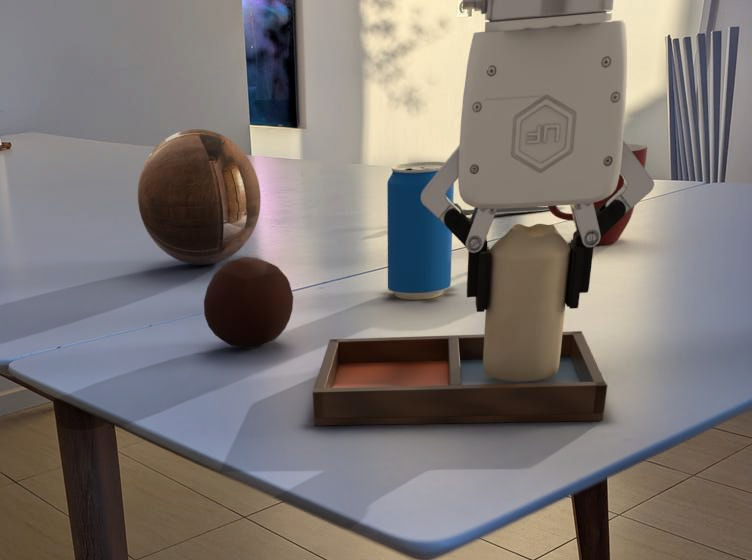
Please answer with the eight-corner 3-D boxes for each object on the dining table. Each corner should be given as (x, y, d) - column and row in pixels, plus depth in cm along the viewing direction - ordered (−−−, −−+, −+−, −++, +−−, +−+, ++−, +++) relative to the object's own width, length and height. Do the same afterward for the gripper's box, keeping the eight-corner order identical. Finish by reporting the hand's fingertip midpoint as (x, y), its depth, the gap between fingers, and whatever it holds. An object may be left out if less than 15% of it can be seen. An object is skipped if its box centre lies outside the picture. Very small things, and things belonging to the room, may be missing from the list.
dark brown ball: (257, 327, 89) (250, 243, 85) (317, 345, 83) (313, 255, 79) (188, 346, 85) (177, 259, 81) (244, 366, 79) (236, 273, 75)
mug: (542, 250, 109) (550, 156, 103) (544, 236, 115) (551, 147, 109) (636, 248, 106) (650, 151, 100) (633, 234, 112) (645, 142, 107)
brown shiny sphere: (137, 261, 121) (119, 132, 113) (246, 246, 124) (235, 119, 116) (161, 283, 109) (141, 141, 100) (280, 266, 112) (271, 126, 104)
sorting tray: (578, 362, 73) (581, 330, 72) (602, 420, 63) (607, 385, 61) (330, 369, 77) (329, 339, 75) (314, 425, 66) (312, 391, 65)
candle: (510, 387, 65) (520, 237, 60) (468, 367, 70) (474, 226, 64) (574, 373, 67) (590, 225, 61) (529, 354, 71) (540, 215, 66)
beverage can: (425, 283, 99) (427, 159, 93) (463, 293, 94) (468, 163, 88) (375, 293, 97) (374, 167, 90) (411, 305, 92) (412, 172, 85)
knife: (407, 211, 125) (395, 202, 129) (405, 228, 126) (394, 218, 130) (566, 202, 128) (550, 194, 132) (563, 218, 130) (547, 209, 134)
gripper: (405, 11, 54) (403, 324, 64) (714, -17, 51) (662, 315, 61) (408, 12, 60) (405, 297, 70) (684, -13, 57) (641, 288, 67)
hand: (525, 302), depth 65 cm, fingers closed on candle, 5 cm apart
